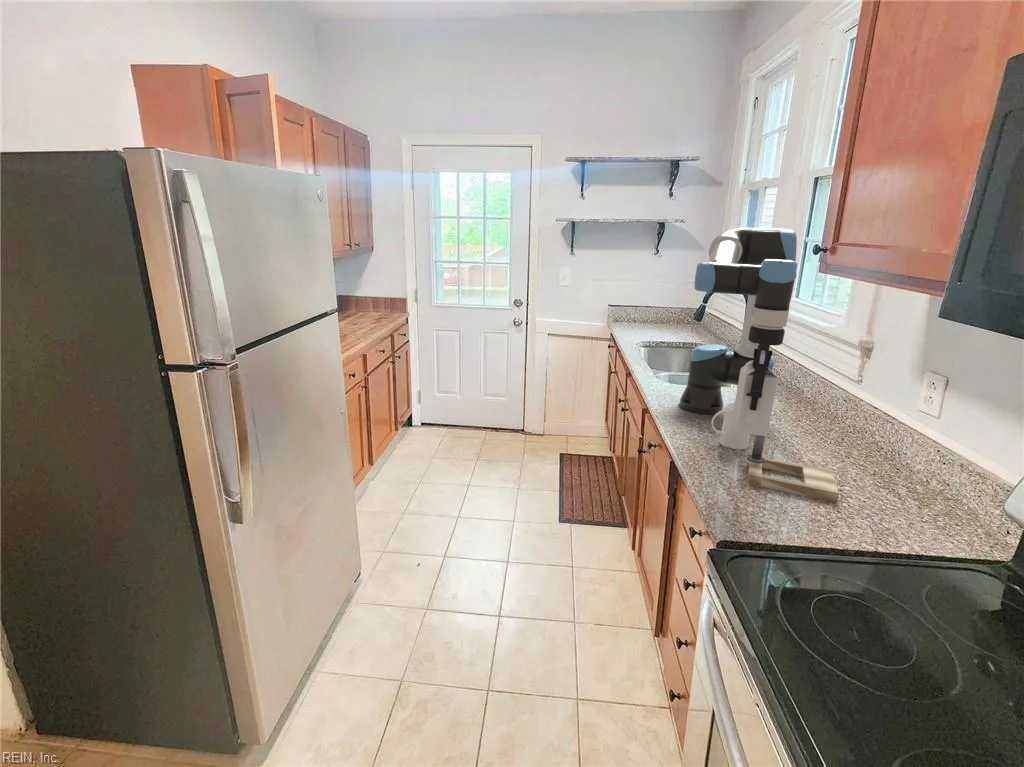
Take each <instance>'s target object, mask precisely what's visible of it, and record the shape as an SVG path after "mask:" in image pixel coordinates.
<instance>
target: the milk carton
mask: <svg viewBox="0 0 1024 767" xmlns="http://www.w3.org/2000/svg"><path fill="white" fill-rule="evenodd" d="M756 359H757V358H756ZM753 362H754V360H751V361H749V362H747V363H746V364H745V366H743V367H742V368H741V370H740V376H739V382H738V385H737V387H736V395H735V400H734V403H735V405H734V411H733V417H732V425H733V427H734V429H735V432H736V433H743V434H750V435H754V436H756V435H761V436H765V437H767V436H768V433H769V426H770V421H771V418H772V417H771V416H772V413H773V412H772V410H773V406H774V400H775V397H776V396H775V395H776V390H777V386H778V381H779V377H777V375H776V374H775V373H774V372H773V370H772V371H771V370H770V369H769V368H768V370H766V373H765V379H764V384H763V390H762V397H761V402H760V407H759V413H758V418H757V423H753V422H747V421H744V420H745V415H746V409H747V404H748V398H749V396H746V394H747V393H750V391H751V386H752V380H753V375H754V368H753ZM755 364H756V363H755ZM756 392H758V391H756Z"/></svg>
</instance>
